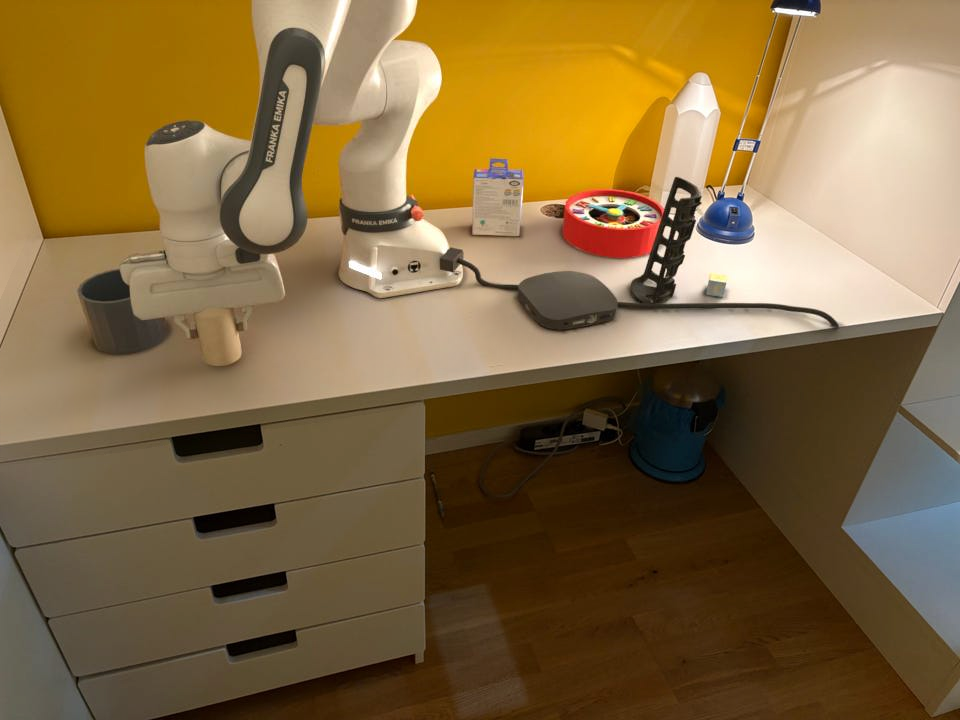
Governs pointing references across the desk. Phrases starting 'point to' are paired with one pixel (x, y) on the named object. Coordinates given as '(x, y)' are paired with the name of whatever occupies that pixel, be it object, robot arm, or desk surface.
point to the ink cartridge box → (497, 200)
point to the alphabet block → (716, 285)
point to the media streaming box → (567, 299)
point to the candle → (218, 336)
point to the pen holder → (116, 316)
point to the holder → (669, 245)
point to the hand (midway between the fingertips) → (218, 332)
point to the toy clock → (611, 222)
